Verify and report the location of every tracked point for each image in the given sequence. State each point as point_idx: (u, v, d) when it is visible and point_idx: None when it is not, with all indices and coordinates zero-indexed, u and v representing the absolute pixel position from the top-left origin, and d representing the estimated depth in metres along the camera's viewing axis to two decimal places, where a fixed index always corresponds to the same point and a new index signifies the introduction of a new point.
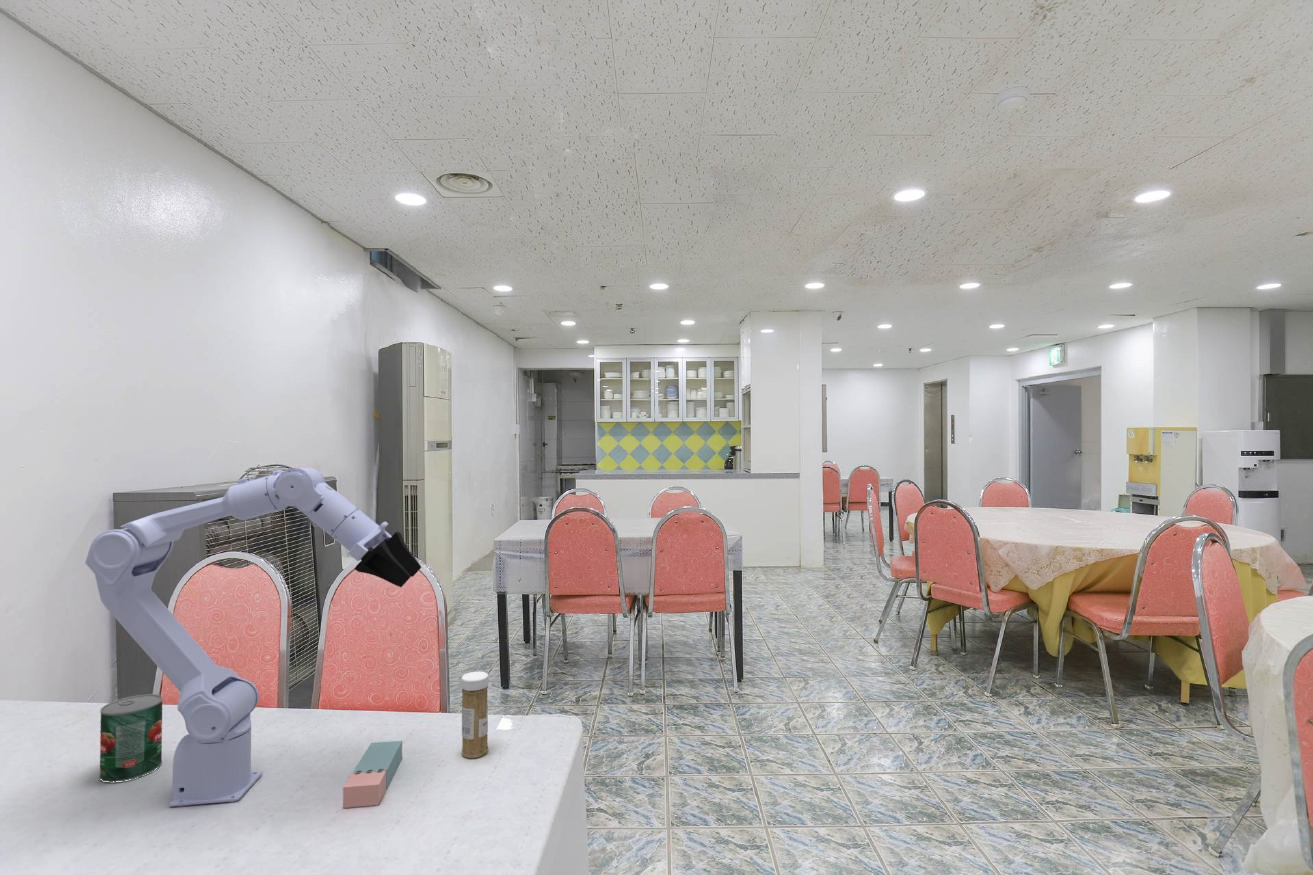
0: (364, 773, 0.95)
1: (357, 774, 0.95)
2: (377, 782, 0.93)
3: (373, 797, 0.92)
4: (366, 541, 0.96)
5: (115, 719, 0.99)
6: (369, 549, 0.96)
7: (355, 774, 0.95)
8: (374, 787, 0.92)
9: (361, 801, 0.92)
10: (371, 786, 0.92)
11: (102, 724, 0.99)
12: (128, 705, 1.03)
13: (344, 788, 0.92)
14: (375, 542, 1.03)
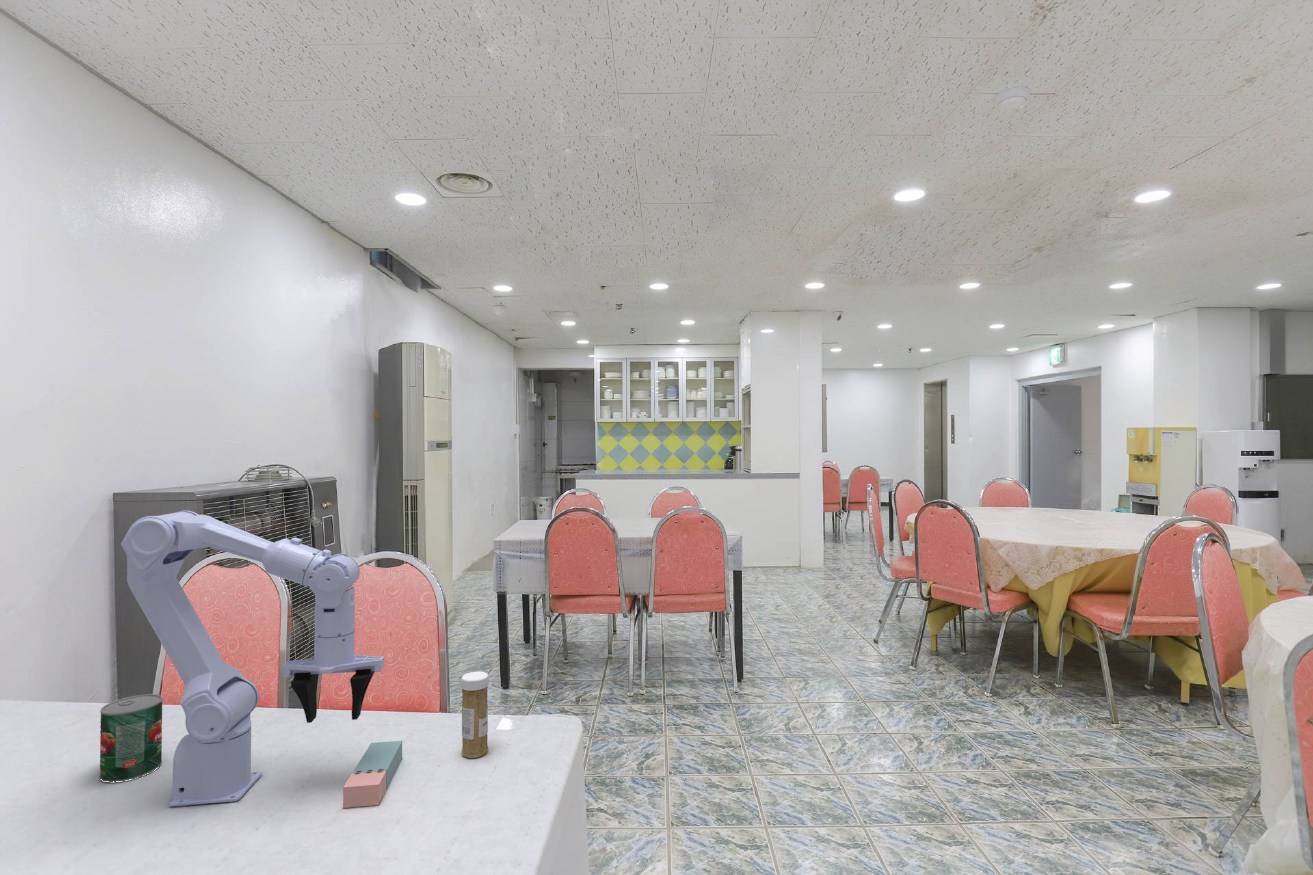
0: (364, 773, 0.95)
1: (357, 774, 0.95)
2: (377, 782, 0.93)
3: (373, 797, 0.92)
4: (296, 669, 0.97)
5: (114, 719, 0.99)
6: (295, 675, 0.98)
7: (355, 774, 0.95)
8: (374, 787, 0.92)
9: (361, 801, 0.92)
10: (371, 786, 0.92)
11: (102, 724, 0.99)
12: (128, 705, 1.03)
13: (344, 788, 0.92)
14: None
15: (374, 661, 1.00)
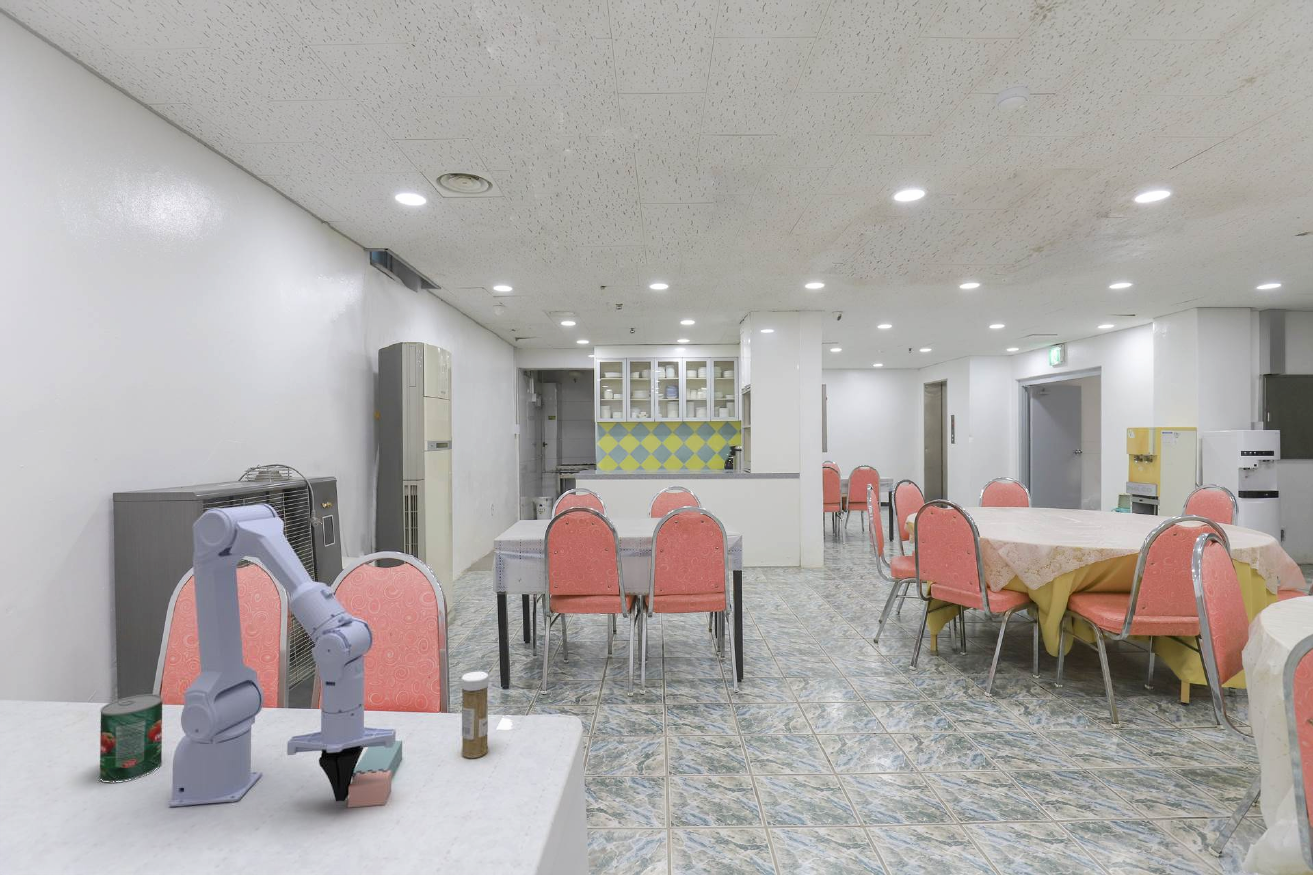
0: (370, 773, 0.96)
1: (362, 774, 0.95)
2: (383, 781, 0.93)
3: (379, 796, 0.92)
4: (302, 746, 0.91)
5: (115, 719, 0.99)
6: None
7: (360, 774, 0.95)
8: (379, 786, 0.93)
9: (367, 801, 0.92)
10: (376, 786, 0.92)
11: (102, 724, 0.99)
12: (128, 705, 1.03)
13: (350, 788, 0.92)
14: None
15: (385, 736, 0.93)
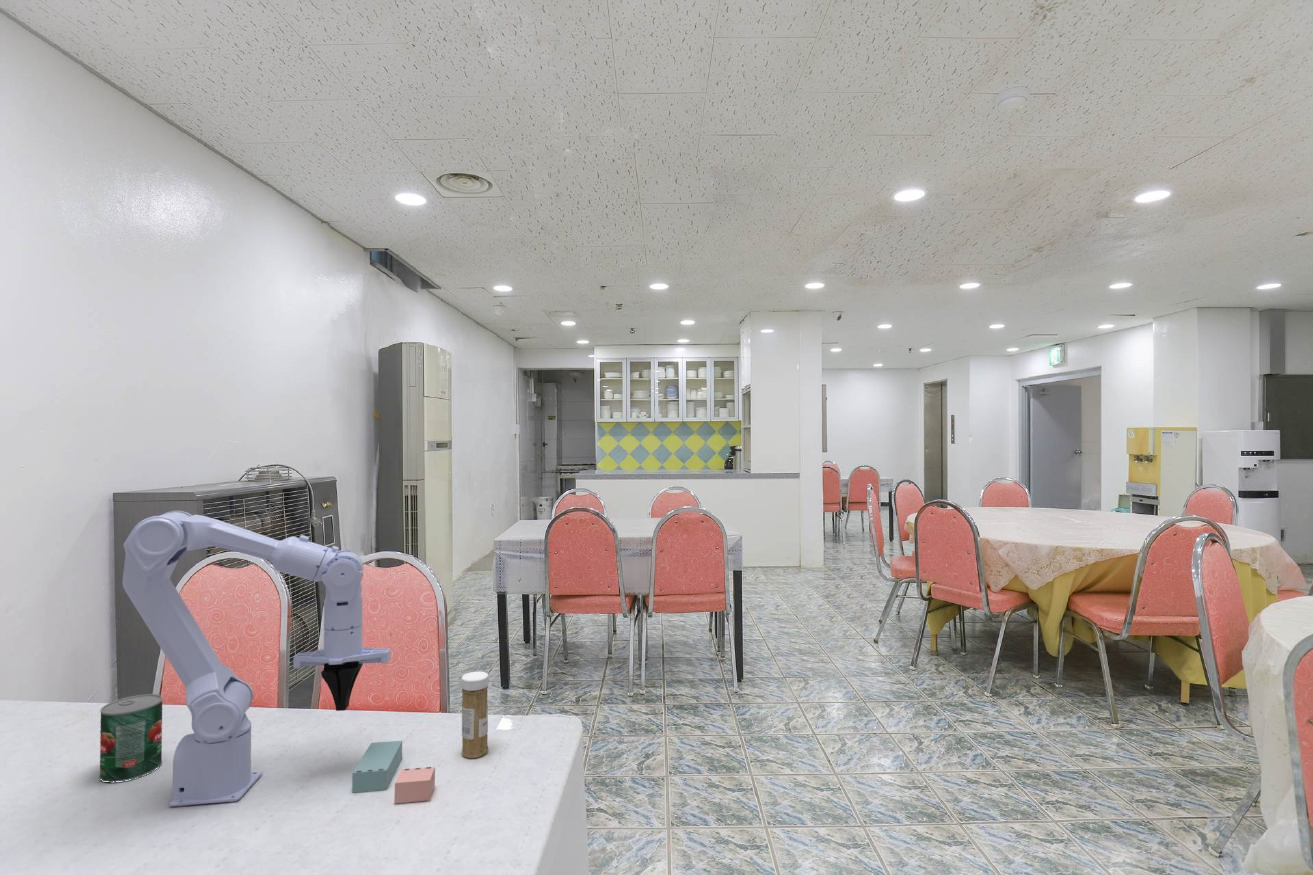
0: (414, 769, 0.97)
1: (407, 770, 0.96)
2: (428, 778, 0.94)
3: (424, 792, 0.94)
4: (307, 660, 1.01)
5: (115, 719, 0.99)
6: None
7: (405, 770, 0.96)
8: (425, 783, 0.94)
9: (412, 797, 0.93)
10: (422, 782, 0.94)
11: (102, 724, 0.99)
12: (128, 705, 1.03)
13: (396, 784, 0.93)
14: None
15: (381, 653, 1.04)
